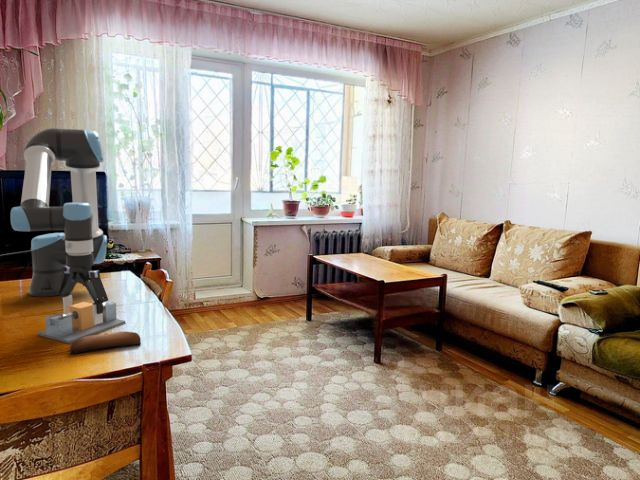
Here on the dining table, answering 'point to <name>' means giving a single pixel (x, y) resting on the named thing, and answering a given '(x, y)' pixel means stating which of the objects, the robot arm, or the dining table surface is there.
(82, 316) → the coupler
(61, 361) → the dining table surface
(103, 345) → the sunglasses case
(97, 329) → the board
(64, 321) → the shaft stands
